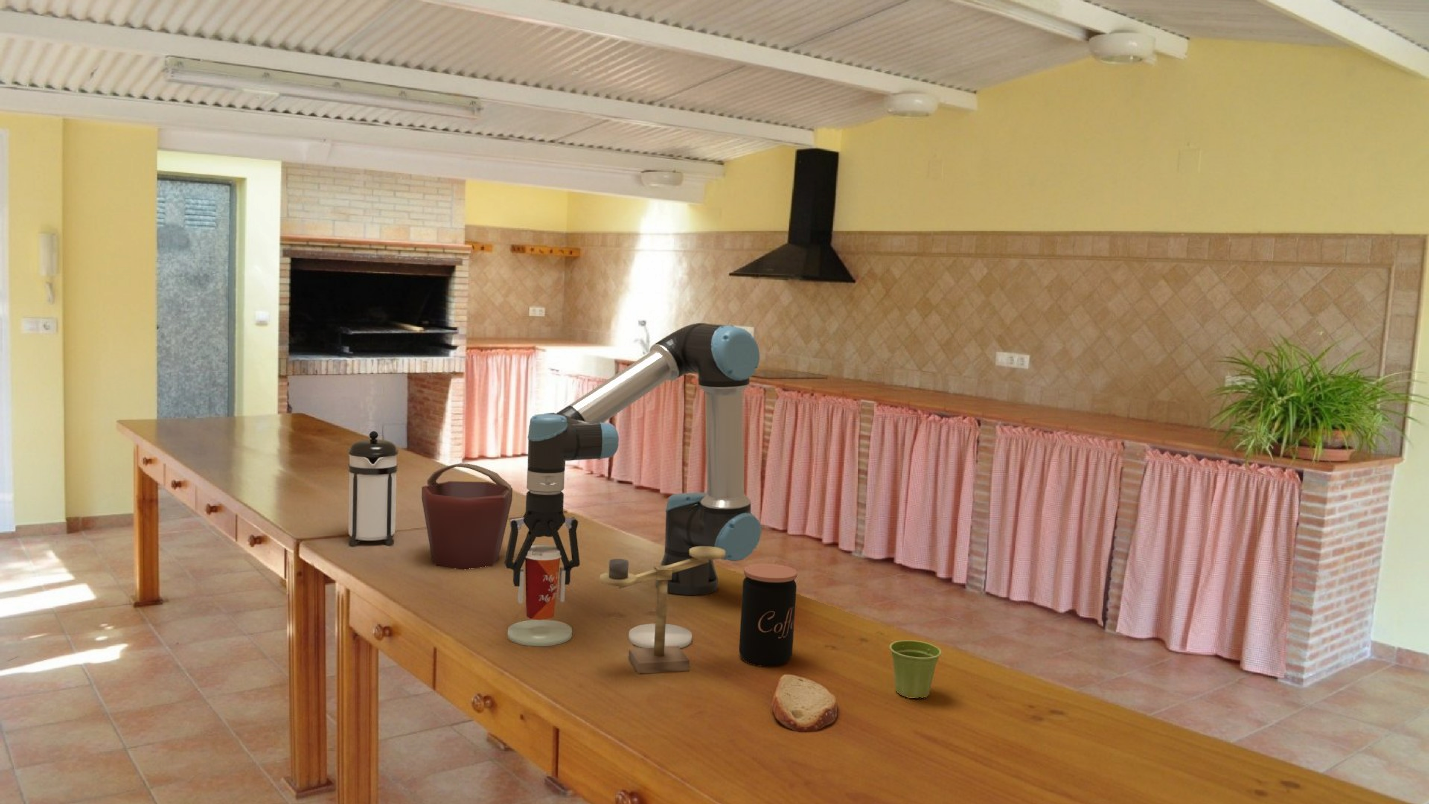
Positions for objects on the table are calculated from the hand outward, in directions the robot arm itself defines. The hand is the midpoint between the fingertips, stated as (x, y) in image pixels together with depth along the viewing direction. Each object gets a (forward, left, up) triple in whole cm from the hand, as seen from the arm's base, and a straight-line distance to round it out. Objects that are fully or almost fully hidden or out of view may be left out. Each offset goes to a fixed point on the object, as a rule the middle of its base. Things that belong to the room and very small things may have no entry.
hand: (540, 600), depth 214 cm
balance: (-20, +20, -7) cm, 29 cm away
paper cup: (0, 0, -3) cm, 3 cm away
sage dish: (0, 0, -7) cm, 7 cm away
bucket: (+11, -59, -8) cm, 60 cm away
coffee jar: (-42, +20, -8) cm, 47 cm away
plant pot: (-63, +42, -8) cm, 76 cm away
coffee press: (+34, -83, -8) cm, 90 cm away
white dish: (-24, +6, -7) cm, 26 cm away
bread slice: (-40, +44, -8) cm, 59 cm away
